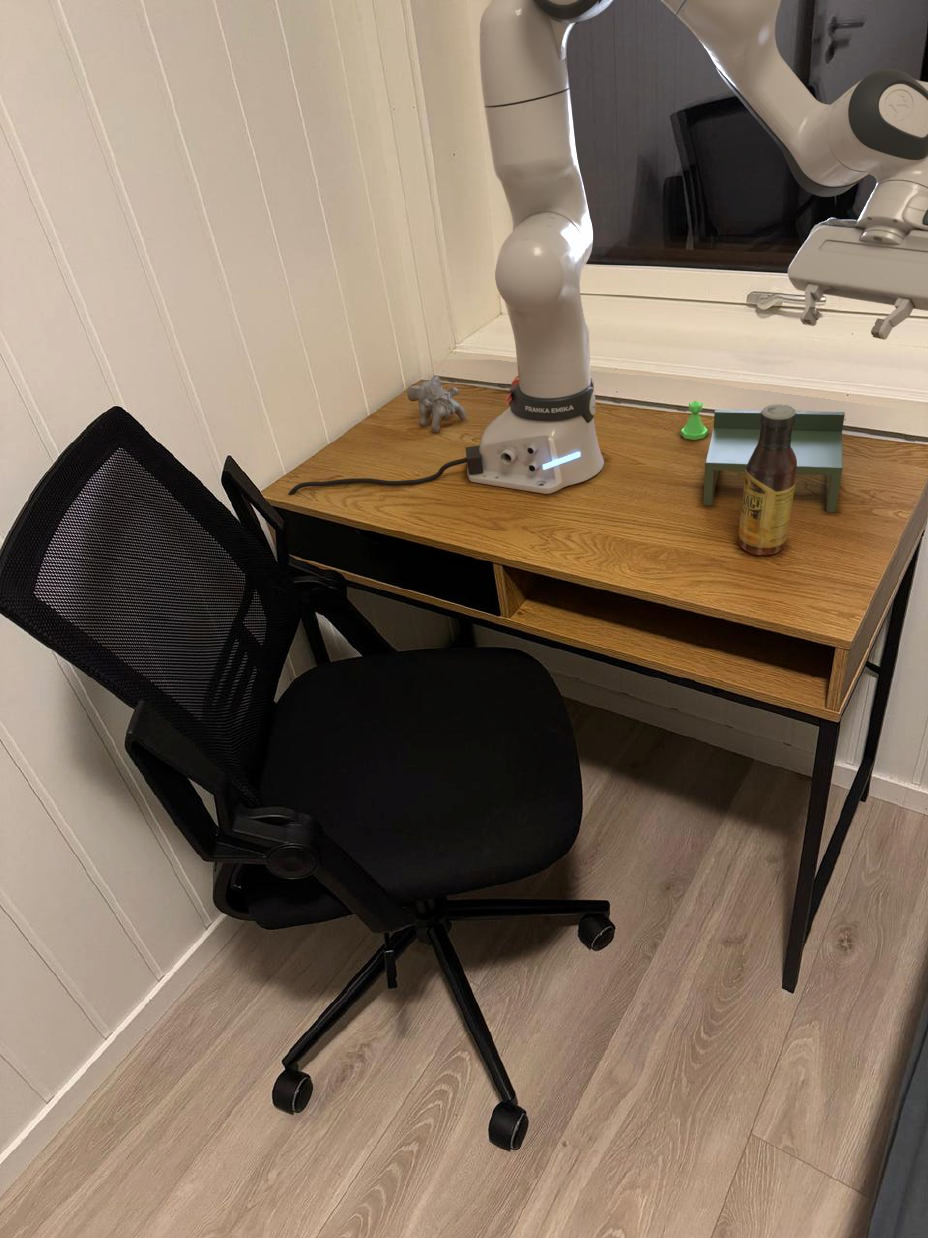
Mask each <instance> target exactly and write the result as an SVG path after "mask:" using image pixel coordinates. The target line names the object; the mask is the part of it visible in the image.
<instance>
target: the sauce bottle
mask: <svg viewBox="0 0 928 1238" xmlns="http://www.w3.org/2000/svg"><path fill="white" fill-rule="evenodd" d="M796 411H797V410H796V409H794V408H793V407H792V406H790V405H787V404H780V403H779V404H777V403H776V404H770V405H767V406H765V407H764V408H762V411H761V416H760V423H761V428H760V437H759V440H758V444H757V446H756V448H755V450H754V452H753V454H752V456H751V458H750V460H749V462H748V463H747V465H746V469H745V472H744V479H743V488H742V497H741V505H740V516H739V527H738V537H739V540H738V543H739V546H740V548H742V549H743V550H744V551H746V552H747V553H749V554H750V555H752V556H765V557H766V556H771V555H776V554H778V553H780V552H781V551H782V550H784V549H785V547H786V541H787V539H788V534H789V528H790V520H791V514H792V506H793V500H794V496H795V495H794V494H795V488H796V482H797V481H796V475H797V474H796V469H797V459H796V455H795V453H794V451H793V449H792V448H791V446H790V444H791V440H792V439H791V435H792V428H793V424H794V423H795V419H796Z"/></svg>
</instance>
